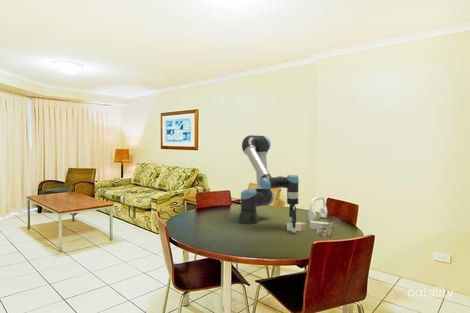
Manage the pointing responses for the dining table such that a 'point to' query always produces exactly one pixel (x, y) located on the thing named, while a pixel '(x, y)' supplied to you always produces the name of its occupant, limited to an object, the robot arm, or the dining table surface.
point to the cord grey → (318, 224)
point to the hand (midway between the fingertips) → (292, 229)
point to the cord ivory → (297, 226)
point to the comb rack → (325, 230)
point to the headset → (322, 210)
